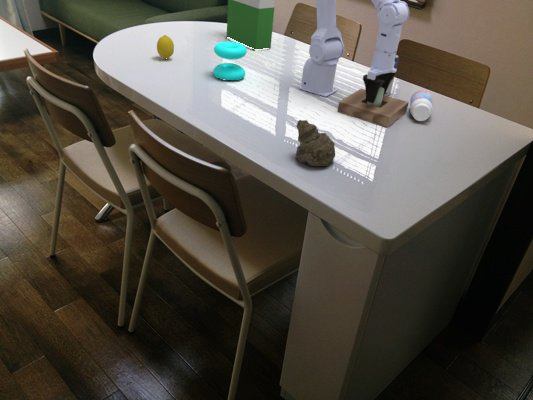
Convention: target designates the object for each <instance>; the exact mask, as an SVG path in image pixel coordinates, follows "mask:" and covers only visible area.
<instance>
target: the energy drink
mask: <svg viewBox="0 0 533 400" xmlns="http://www.w3.org/2000/svg"><path fill="white" fill-rule="evenodd" d="M394 62H395V65H394V68H395V69H397V68H398V63H399V55H397V54H396V57H395V61H394ZM394 79H395V77H394V78H393V79H392V81H391V82H390V84H389V86H388V89H387V91H386V93H385V95H386V96H390V95H391V92H392V89H393V86H394V85H393V84H394Z"/></svg>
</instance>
